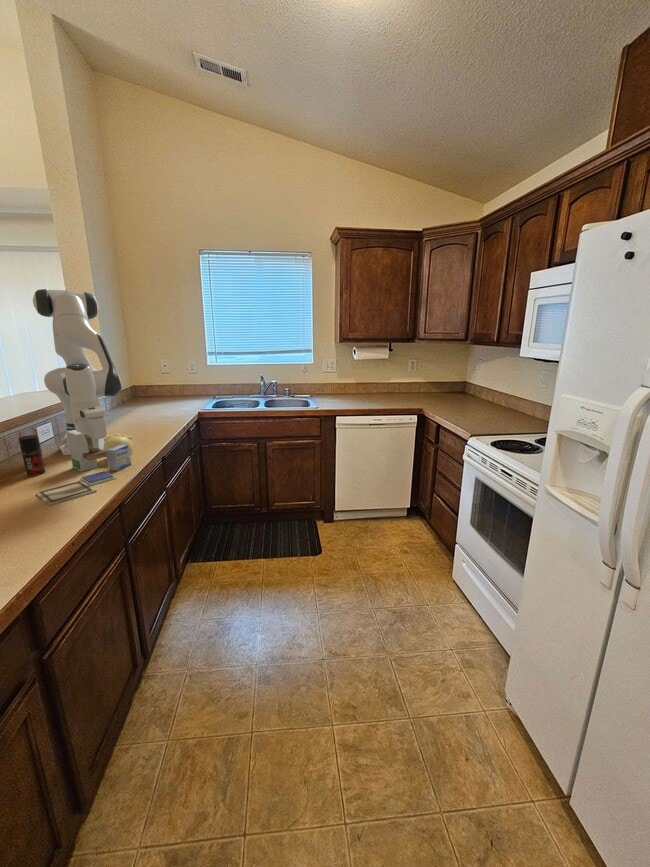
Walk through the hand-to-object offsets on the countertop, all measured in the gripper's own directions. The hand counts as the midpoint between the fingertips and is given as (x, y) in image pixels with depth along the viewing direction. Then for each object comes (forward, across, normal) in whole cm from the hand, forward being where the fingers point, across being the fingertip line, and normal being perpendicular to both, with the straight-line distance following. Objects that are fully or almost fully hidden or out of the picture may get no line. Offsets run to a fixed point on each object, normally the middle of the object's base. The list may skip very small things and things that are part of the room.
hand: (93, 446), depth 141 cm
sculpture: (+13, -19, +16) cm, 28 cm away
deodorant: (+13, -26, -13) cm, 32 cm away
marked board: (+13, +5, -12) cm, 18 cm away
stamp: (+4, 0, 0) cm, 4 cm away
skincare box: (+13, -18, +2) cm, 23 cm away
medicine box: (+13, -7, +11) cm, 19 cm away
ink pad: (+13, 0, 0) cm, 13 cm away
